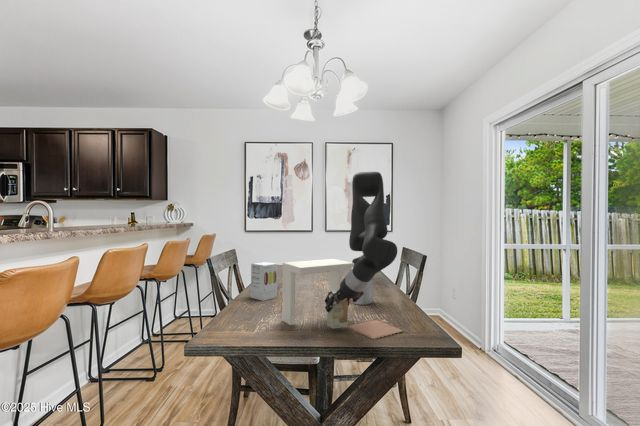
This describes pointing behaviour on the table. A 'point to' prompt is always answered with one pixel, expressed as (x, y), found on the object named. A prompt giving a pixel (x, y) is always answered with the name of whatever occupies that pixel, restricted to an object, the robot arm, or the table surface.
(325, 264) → the white stool
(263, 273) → the supplement box
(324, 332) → the table surface
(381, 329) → the terracotta tile
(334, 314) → the skincare box
